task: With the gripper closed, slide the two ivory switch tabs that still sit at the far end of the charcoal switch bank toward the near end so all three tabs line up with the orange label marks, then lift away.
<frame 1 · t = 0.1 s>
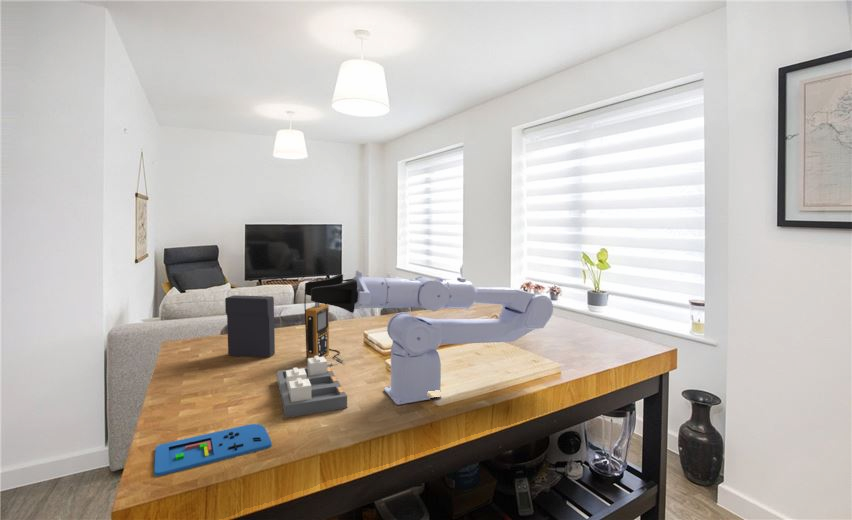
hand: (308, 291, 73), 22 cm above the kitchen island, tool horizontal, fingers open, 7 cm apart
multimeter: (331, 360, 103), on the kitchen island
tab a: (317, 366, 89), point 3 cm above the kitchen island, slide at 5.0 cm
tab b: (296, 379, 81), point 3 cm above the kitchen island, slide at 0.0 cm
dark gray lidded box: (251, 355, 106), on the kitchen island
tab c: (300, 391, 76), point 3 cm above the kitchen island, slide at 0.0 cm
handheld gaming device: (214, 451, 62), on the kitchen island
switch bank: (309, 393, 83), on the kitchen island
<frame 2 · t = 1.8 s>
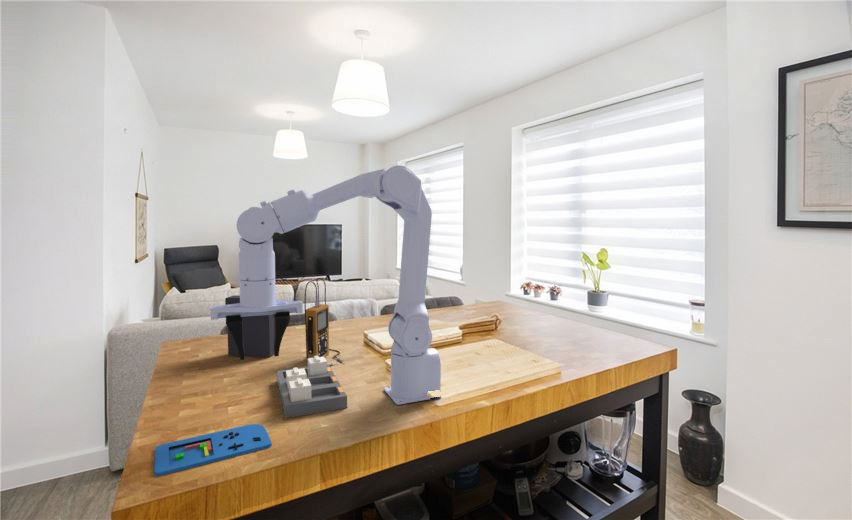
hand: (259, 356, 72), 10 cm above the kitchen island, tool pointing down, fingers open, 5 cm apart
nothing on the kitchen island moved.
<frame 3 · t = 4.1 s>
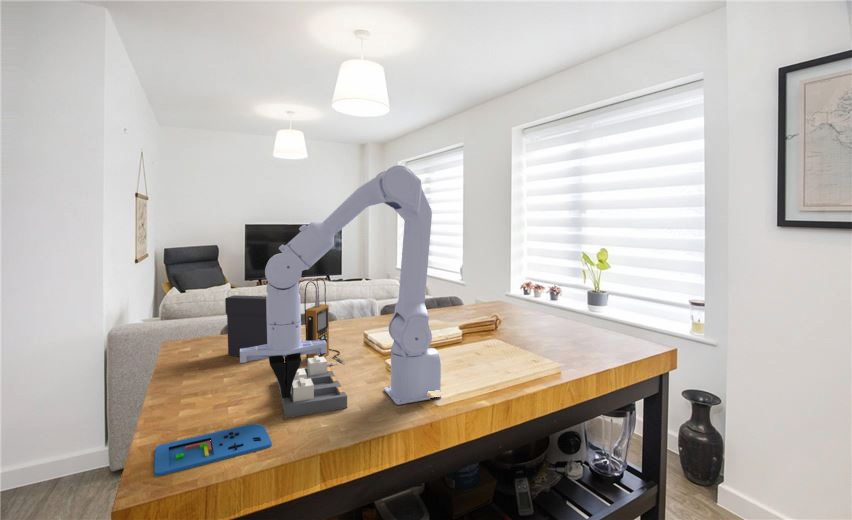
hand: (285, 395, 75), 3 cm above the kitchen island, tool pointing down, fingers closed
tab c: (302, 391, 76), point 3 cm above the kitchen island, slide at 0.4 cm, touching gripper
everything else where it was.
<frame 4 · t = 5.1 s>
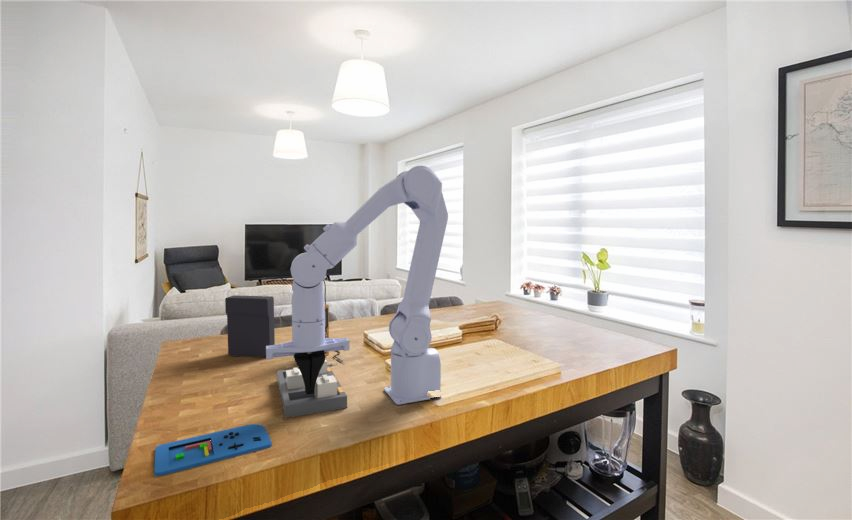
hand: (309, 392, 76), 3 cm above the kitchen island, tool pointing down, fingers closed
tab c: (325, 387, 78), point 3 cm above the kitchen island, slide at 4.6 cm, touching gripper
everything else where it was.
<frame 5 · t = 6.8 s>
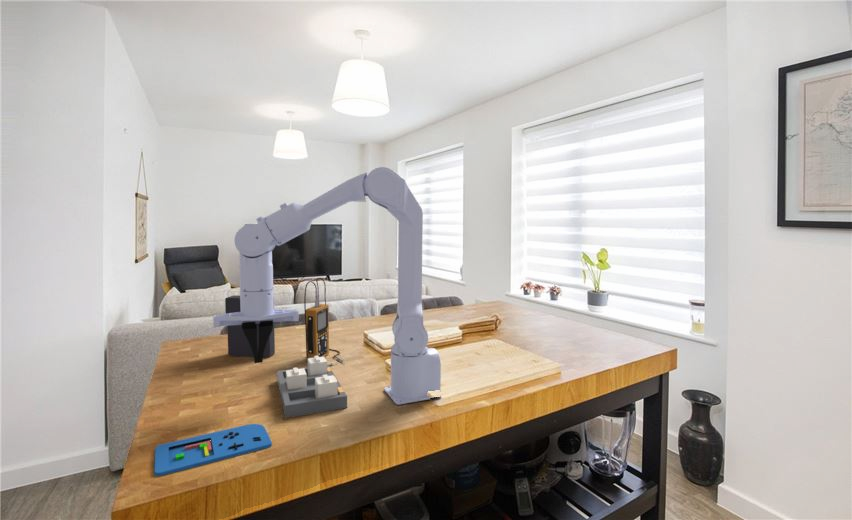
hand: (258, 361, 78), 8 cm above the kitchen island, tool pointing down, fingers closed
tab c: (326, 387, 78), point 3 cm above the kitchen island, slide at 4.7 cm
everything else where it was.
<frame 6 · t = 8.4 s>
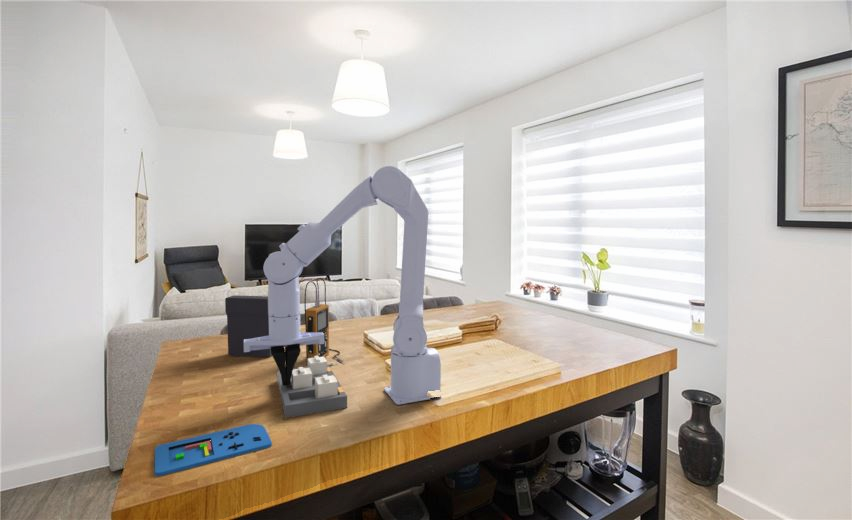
hand: (285, 383, 81), 3 cm above the kitchen island, tool pointing down, fingers closed
tab b: (301, 379, 82), point 3 cm above the kitchen island, slide at 1.0 cm, touching gripper
everything else where it was.
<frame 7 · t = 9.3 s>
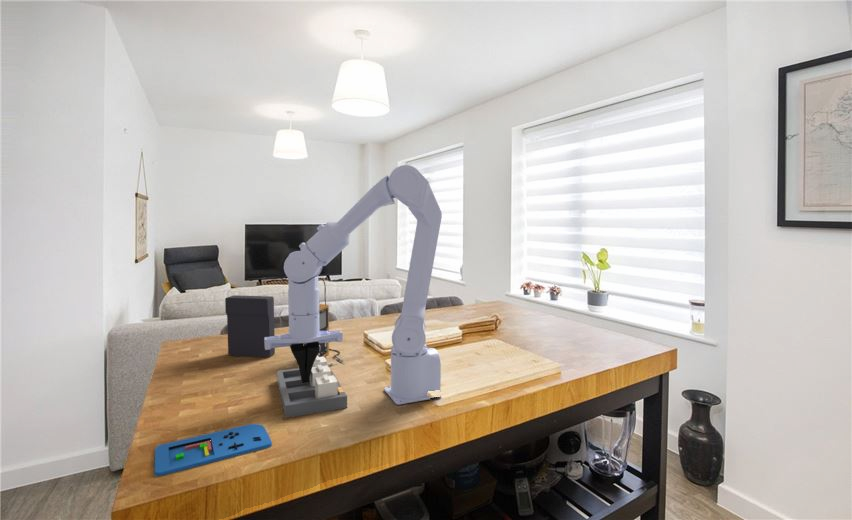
hand: (305, 380, 82), 3 cm above the kitchen island, tool pointing down, fingers closed
tab b: (320, 376, 83), point 3 cm above the kitchen island, slide at 4.6 cm, touching gripper
everything else where it was.
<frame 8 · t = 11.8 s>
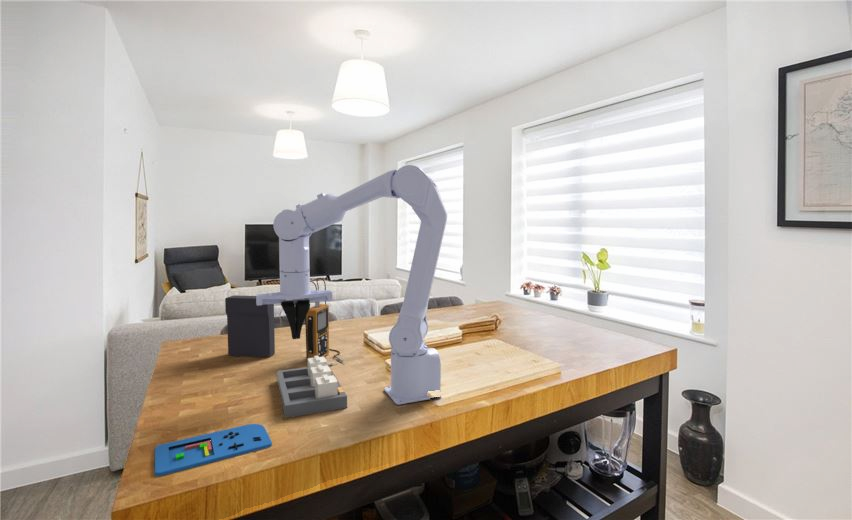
hand: (295, 337, 84), 10 cm above the kitchen island, tool pointing down, fingers closed
tab b: (320, 376, 83), point 3 cm above the kitchen island, slide at 4.7 cm
everything else where it was.
at the end: tab b slide at 4.7 cm; tab c slide at 4.7 cm; tab a slide at 5.0 cm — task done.
